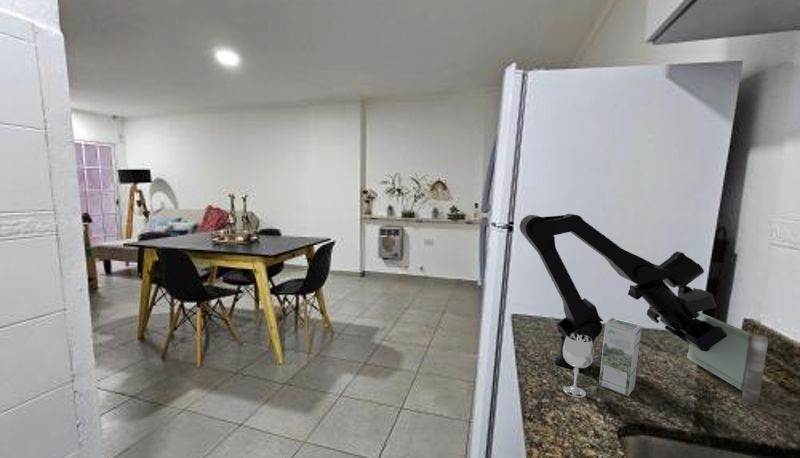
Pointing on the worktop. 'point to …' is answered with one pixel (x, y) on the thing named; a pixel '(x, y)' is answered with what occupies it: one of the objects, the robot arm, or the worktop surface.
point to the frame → (755, 368)
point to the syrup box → (620, 356)
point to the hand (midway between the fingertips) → (705, 348)
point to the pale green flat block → (725, 354)
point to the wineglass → (577, 359)
